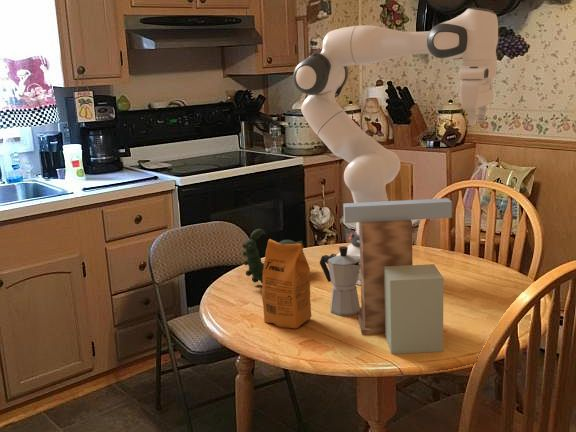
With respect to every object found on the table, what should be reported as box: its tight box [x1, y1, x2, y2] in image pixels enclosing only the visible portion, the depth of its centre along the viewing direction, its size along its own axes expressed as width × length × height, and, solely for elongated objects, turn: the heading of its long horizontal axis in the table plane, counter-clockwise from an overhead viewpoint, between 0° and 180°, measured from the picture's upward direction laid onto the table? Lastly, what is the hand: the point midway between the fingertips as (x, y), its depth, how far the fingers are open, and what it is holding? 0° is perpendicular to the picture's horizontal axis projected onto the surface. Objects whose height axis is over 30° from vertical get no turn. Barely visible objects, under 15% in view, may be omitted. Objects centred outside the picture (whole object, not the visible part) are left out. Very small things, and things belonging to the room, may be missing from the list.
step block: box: [384, 263, 444, 355], centre depth 155 cm, size 12×10×18 cm
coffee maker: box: [319, 245, 362, 317], centre depth 178 cm, size 15×9×18 cm, turn 44°
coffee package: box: [261, 238, 312, 329], centre depth 172 cm, size 10×12×22 cm
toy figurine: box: [241, 228, 304, 284], centre depth 205 cm, size 10×19×26 cm
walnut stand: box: [356, 220, 413, 335], centre depth 165 cm, size 14×11×28 cm
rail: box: [342, 197, 453, 224], centre depth 161 cm, size 26×4×4 cm, turn 90°
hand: (476, 123), depth 177 cm, fingers open, 8 cm apart
